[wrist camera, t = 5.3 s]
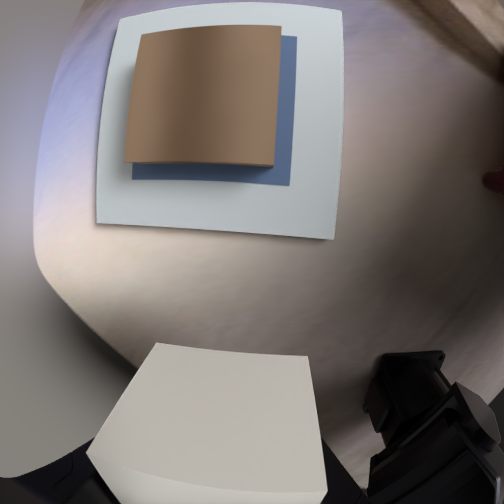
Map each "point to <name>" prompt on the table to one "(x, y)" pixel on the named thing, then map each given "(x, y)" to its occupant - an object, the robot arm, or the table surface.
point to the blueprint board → (234, 198)
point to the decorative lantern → (495, 181)
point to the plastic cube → (214, 431)
